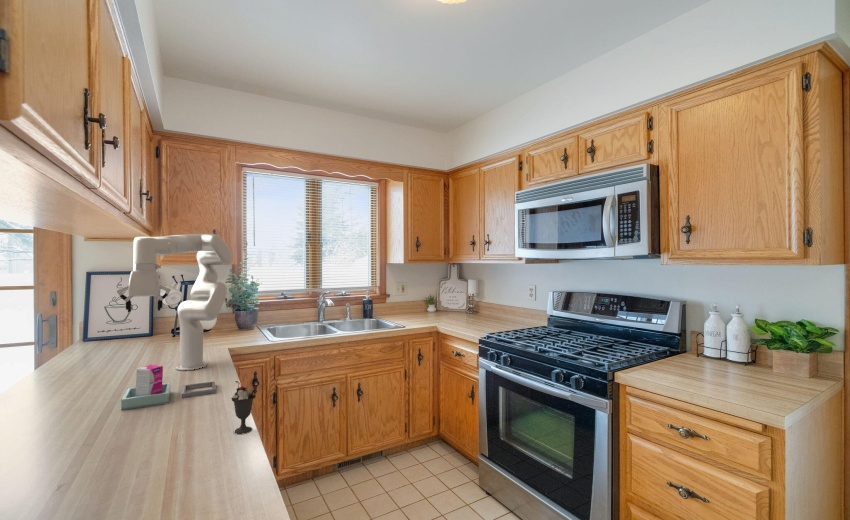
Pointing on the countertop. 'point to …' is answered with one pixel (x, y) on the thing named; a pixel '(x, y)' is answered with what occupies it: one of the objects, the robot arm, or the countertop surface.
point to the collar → (196, 393)
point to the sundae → (243, 406)
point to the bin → (145, 398)
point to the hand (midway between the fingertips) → (144, 310)
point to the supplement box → (149, 380)
